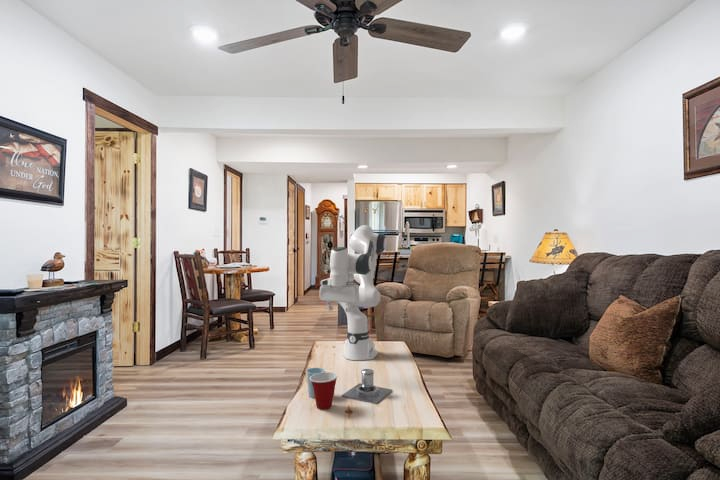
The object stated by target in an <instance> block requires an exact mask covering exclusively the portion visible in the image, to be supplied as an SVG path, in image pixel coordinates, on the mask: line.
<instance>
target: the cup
mask: <svg viewBox="0 0 720 480" xmlns="http://www.w3.org/2000/svg"><path fill="white" fill-rule="evenodd" d="M305 371H306V379H307V380H306V381H307V390H308V391H307V392H308V397H309V398H312V399H315V396H314V390H313V385H312V382H311V380H310V377H311V376H312V375H314V374H317V373H322V372H326V370H325V368H322V367H310V368H308V369H306V370H305Z"/></svg>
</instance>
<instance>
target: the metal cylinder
mask: <svg viewBox="0 0 720 480" xmlns="http://www.w3.org/2000/svg"><path fill="white" fill-rule="evenodd" d="M360 373H361V384H362V391H365V392H370V391H373V385H374V374H375V371H374V370H373V369H371V368H363V369H361V371H360Z"/></svg>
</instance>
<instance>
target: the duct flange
mask: <svg viewBox="0 0 720 480" xmlns="http://www.w3.org/2000/svg"><path fill="white" fill-rule="evenodd" d="M392 392H393V389H392V388H387V387H381V386H377V385H374V384H373V391H370V392H365V391H362V383H357V384H356V385H355V386H353V387H352V388H350V389H349V390H348V391H346V392H344V393H343V394H341V398H346V399H350V400H355V401H359V402H365V403H369V404H374V405H375V404H376V405H377V404H379V403H380V402H381V401H382V400H383V399H385V398H386V397H387V396H388V395H390V394H391V393H392Z"/></svg>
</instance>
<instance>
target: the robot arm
mask: <svg viewBox="0 0 720 480" xmlns="http://www.w3.org/2000/svg"><path fill="white" fill-rule="evenodd" d="M348 242H349V246H350V248H351V249H352V250H353V251H354V252H356V253H349V252H348V248H347V247H343V246H338V247H334V248H331V251H330V257H329V268H330V274H329V277H328V278H325V279H323V280H320V287H319V294H318V297H319V299H320V300H321V301H324V302H325V303H326V305H327V309H328V311H333V310H334V306H332V304H331V303H332V302H336V303H337V304H339V305H340V306H341V307H342V309H343V310H344V313H345V315H346V322H347V331H346V339H345V341H344V348H343V349H344V351H343V352H342V356H343V357H344V358H345V359H347V360H352V361H365V360H367V361H368V360H374V358H375V357H376V356H378V354H379V353H380V352H379V350H376V348H375V346H376V345H375V342H374V341H373V340H372V339H371V338H370V335H371V334H372V330H368V326H369V325H368V322H369V321H368V320H369V319H368V317H367V315H366V314H365V313H364V312H361V310H360V308H372V307H377V306H378V304H380V301H381V294H380V291H379V290H378V289H377V288H376V286H375V285H374V281H373V280H374V276H375V270H376V266H377V256H380V254H381V253H383V252H384V251H385V250H386V248H387V246H388V239H387V237H386V235H385V234H383V233H377V232H374V231H373V228H372V227H371V226H369V225H368V224H363V225H360V226H359V227H357V228H356V229H355V230H354V231H353V232H352V234H350V237H349V241H348ZM349 274H350V275H353V279H354V280H355V282H350V280H349ZM359 284H360V285H359ZM359 307H360V308H359Z"/></svg>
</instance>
